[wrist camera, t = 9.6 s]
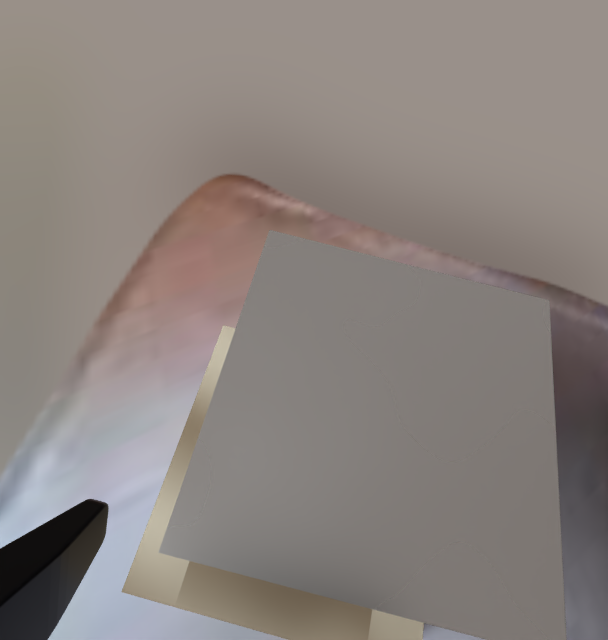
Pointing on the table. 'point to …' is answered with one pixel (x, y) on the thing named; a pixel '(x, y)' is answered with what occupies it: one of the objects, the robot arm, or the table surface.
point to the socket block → (235, 589)
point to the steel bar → (384, 445)
